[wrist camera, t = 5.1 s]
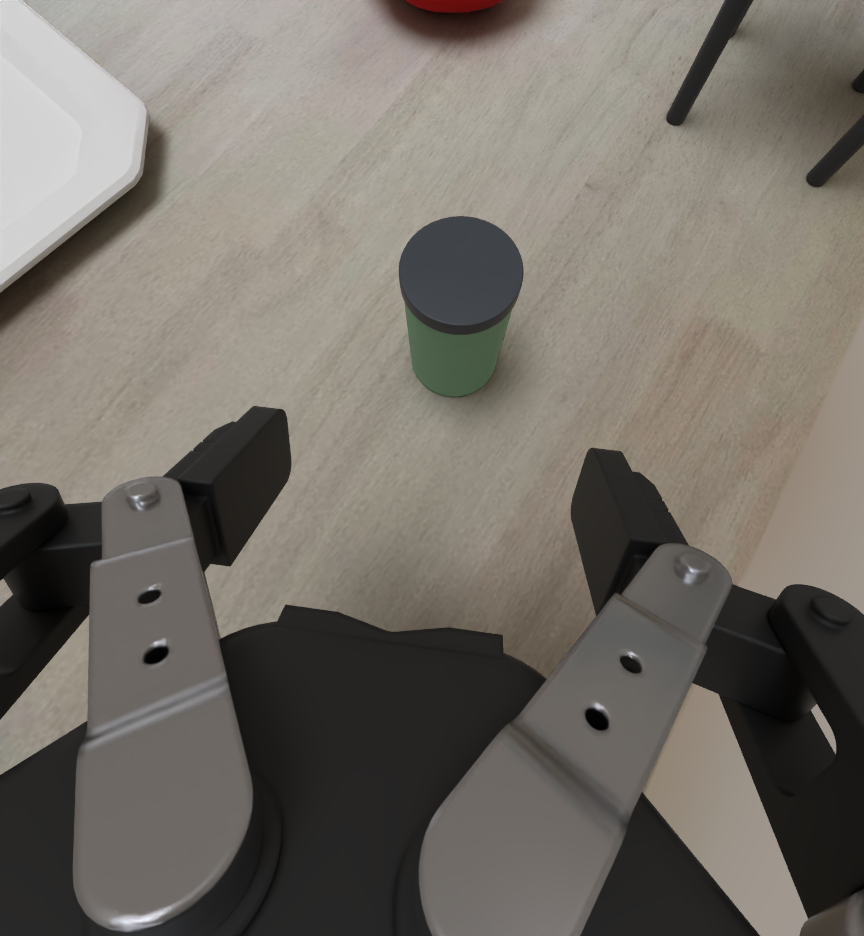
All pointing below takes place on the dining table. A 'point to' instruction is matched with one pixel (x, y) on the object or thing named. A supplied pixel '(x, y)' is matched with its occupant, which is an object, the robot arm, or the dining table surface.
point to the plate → (58, 139)
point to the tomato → (453, 5)
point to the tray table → (706, 60)
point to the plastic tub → (458, 301)
